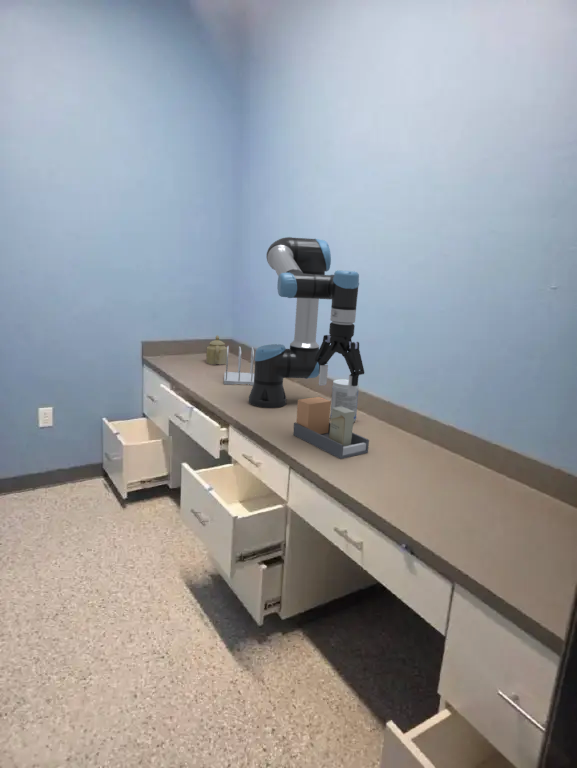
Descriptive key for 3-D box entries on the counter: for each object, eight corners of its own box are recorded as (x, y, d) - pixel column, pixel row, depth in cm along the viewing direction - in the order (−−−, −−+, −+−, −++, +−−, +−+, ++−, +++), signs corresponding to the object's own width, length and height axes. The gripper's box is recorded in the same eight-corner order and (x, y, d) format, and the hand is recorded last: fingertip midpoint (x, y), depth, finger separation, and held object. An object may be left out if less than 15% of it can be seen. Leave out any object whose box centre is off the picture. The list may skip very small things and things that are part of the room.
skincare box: (327, 444, 167) (330, 407, 164) (338, 441, 169) (341, 405, 167) (341, 450, 162) (344, 412, 159) (351, 448, 165) (355, 411, 162)
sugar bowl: (234, 365, 277) (235, 337, 274) (215, 367, 271) (216, 338, 267) (221, 360, 289) (221, 333, 285) (202, 361, 283) (203, 334, 279)
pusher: (295, 431, 176) (297, 399, 174) (317, 427, 182) (319, 396, 179) (306, 436, 172) (309, 404, 169) (328, 432, 177) (330, 401, 174)
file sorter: (223, 384, 237) (224, 350, 233) (224, 376, 254) (225, 344, 250) (279, 386, 240) (280, 353, 236) (276, 377, 257) (277, 346, 253)
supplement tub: (361, 422, 194) (364, 383, 190) (341, 425, 189) (344, 386, 185) (344, 415, 202) (347, 377, 198) (324, 418, 197) (327, 379, 193)
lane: (293, 434, 176) (294, 422, 175) (319, 430, 182) (320, 418, 181) (340, 459, 157) (342, 445, 156) (367, 452, 164) (369, 439, 163)
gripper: (307, 317, 167) (302, 381, 172) (362, 329, 148) (355, 402, 153) (325, 316, 171) (320, 379, 177) (381, 328, 152) (373, 399, 157)
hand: (336, 390), depth 165 cm, fingers open, 13 cm apart
